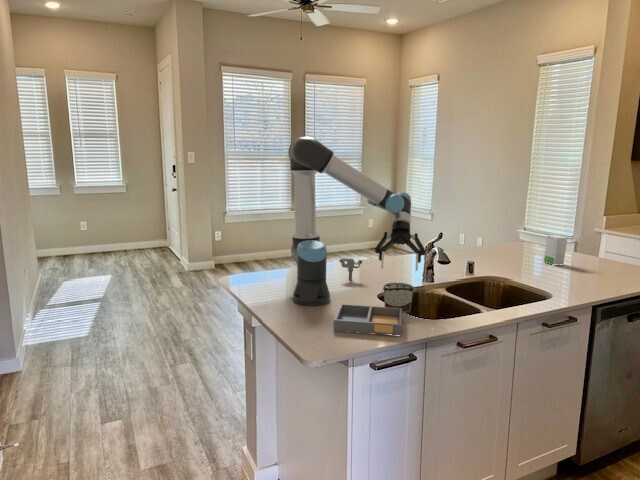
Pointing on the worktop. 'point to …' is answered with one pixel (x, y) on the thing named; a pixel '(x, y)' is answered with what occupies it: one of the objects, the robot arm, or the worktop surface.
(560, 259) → the skincare box
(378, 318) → the organizer
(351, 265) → the mechanical component
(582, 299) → the worktop surface
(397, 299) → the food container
